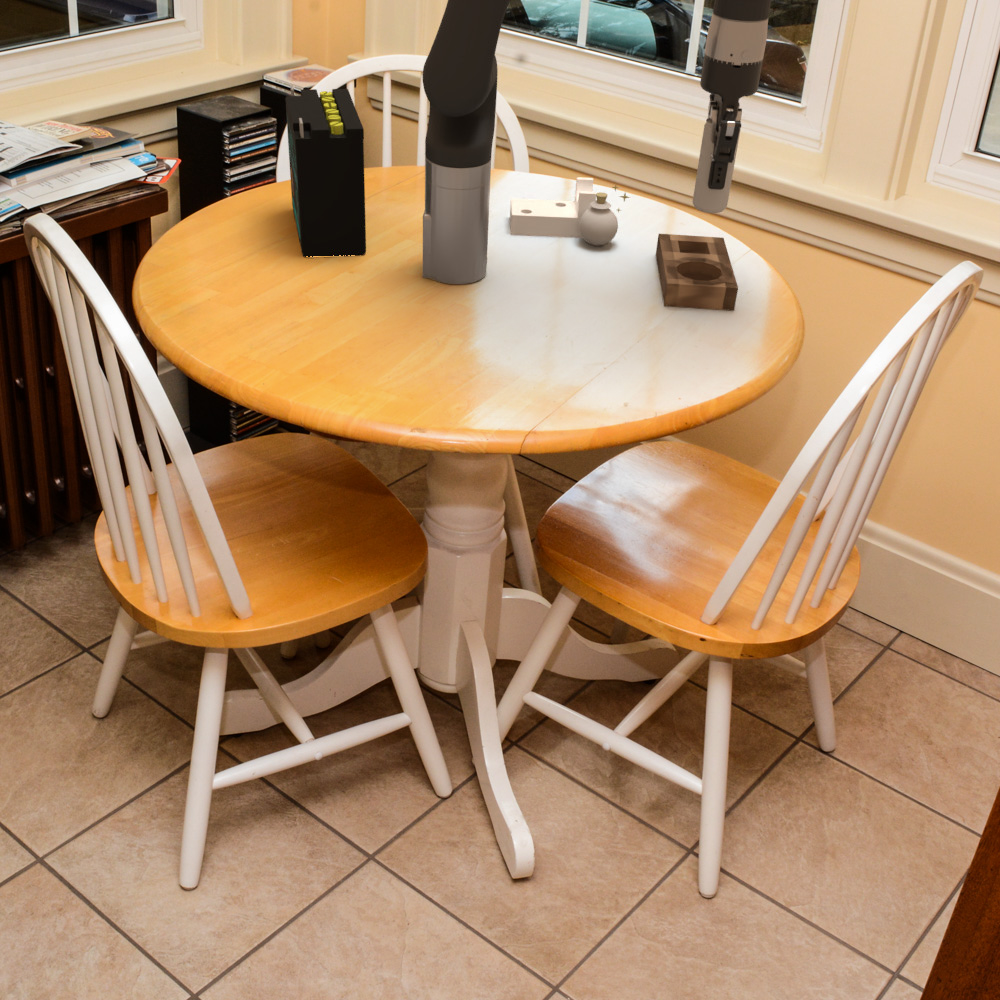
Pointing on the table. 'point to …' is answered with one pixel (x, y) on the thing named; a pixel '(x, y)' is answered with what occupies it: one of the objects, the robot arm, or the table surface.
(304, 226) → the battery
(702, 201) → the beverage can
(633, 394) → the table surface
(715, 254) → the walnut bore block
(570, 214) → the bracket
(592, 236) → the round potion bottle
